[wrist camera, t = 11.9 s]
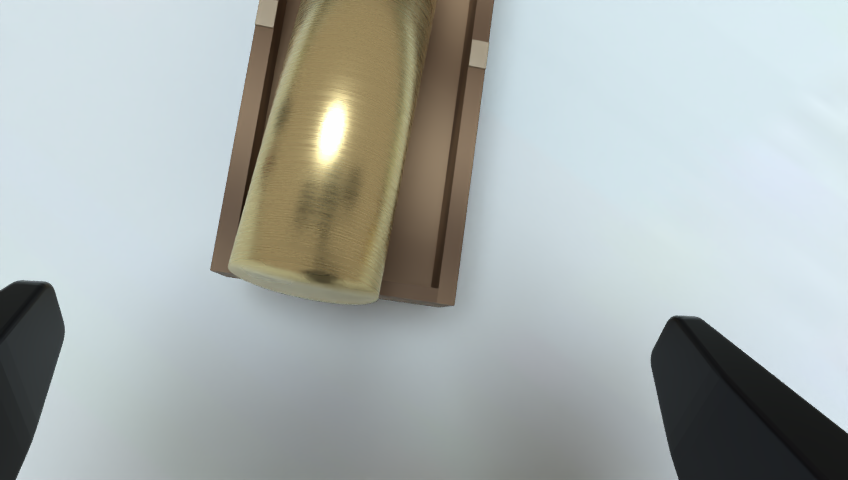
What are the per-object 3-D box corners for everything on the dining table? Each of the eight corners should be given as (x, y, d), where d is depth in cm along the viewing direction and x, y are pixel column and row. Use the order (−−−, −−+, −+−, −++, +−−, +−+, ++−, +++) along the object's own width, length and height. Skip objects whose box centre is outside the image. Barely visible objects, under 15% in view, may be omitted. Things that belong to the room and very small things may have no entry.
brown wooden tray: (438, 307, 20) (454, 305, 17) (226, 276, 19) (209, 270, 17) (493, -109, 22) (516, -169, 20) (304, -152, 21) (300, -221, 19)
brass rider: (380, 6, 21) (311, 305, 18) (294, -69, 18) (198, 264, 15) (469, -33, 18) (409, 304, 15) (386, -125, 16) (293, 255, 13)
